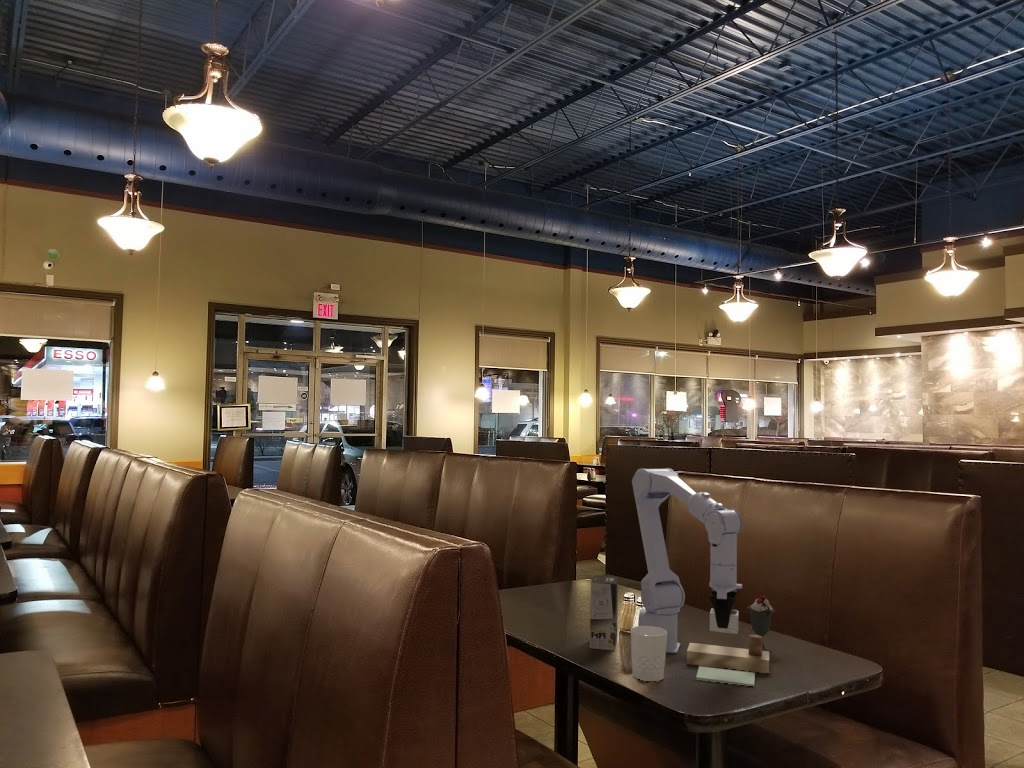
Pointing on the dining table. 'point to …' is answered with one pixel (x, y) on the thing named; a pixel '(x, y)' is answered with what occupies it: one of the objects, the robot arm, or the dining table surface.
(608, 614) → the coffee box
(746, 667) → the panel with round knob
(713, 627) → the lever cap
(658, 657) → the white cup
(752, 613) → the sundae
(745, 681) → the board
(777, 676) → the dining table surface
